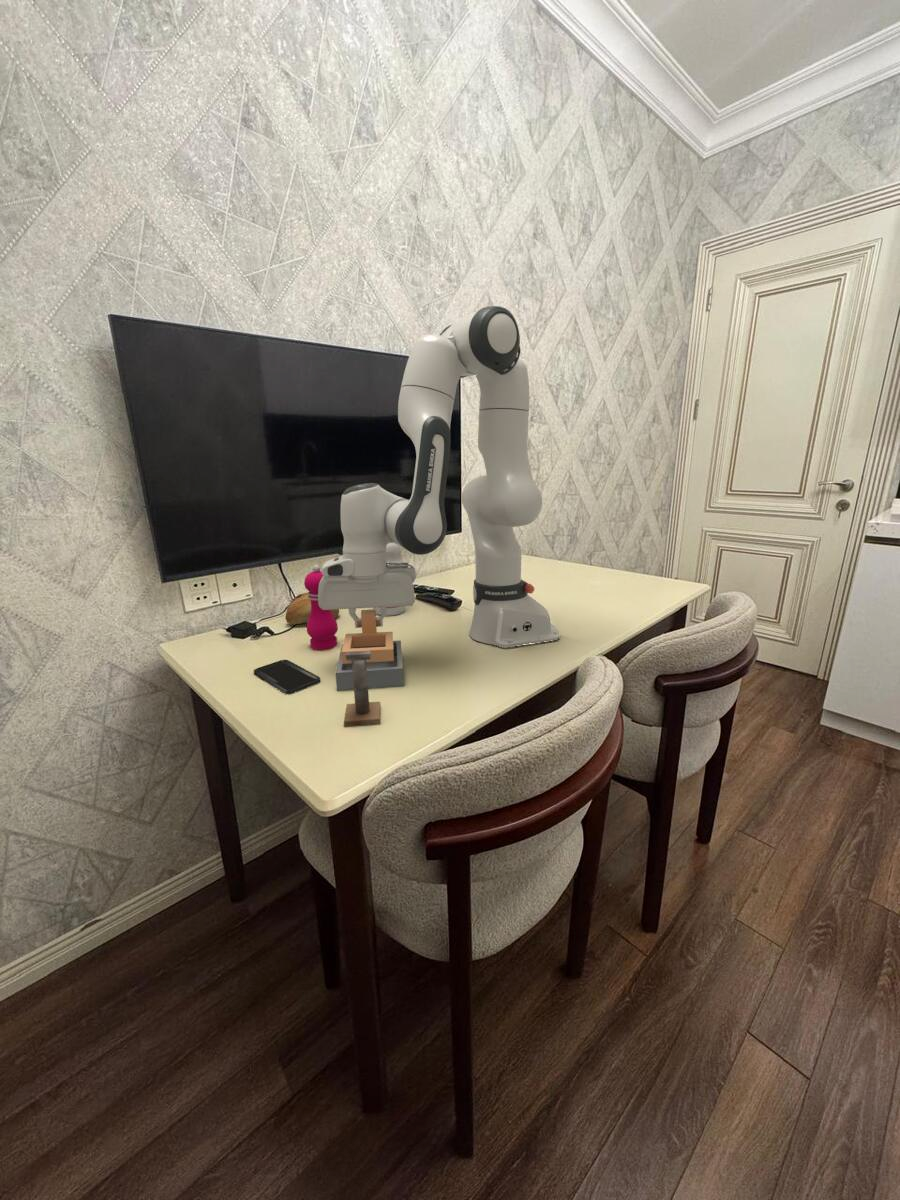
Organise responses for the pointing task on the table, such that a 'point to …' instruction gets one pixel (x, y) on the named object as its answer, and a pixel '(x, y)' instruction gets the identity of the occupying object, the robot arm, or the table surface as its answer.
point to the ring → (369, 640)
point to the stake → (361, 694)
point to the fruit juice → (392, 557)
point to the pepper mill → (319, 615)
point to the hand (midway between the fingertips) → (369, 626)
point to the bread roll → (301, 610)
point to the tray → (373, 671)
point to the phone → (286, 676)
